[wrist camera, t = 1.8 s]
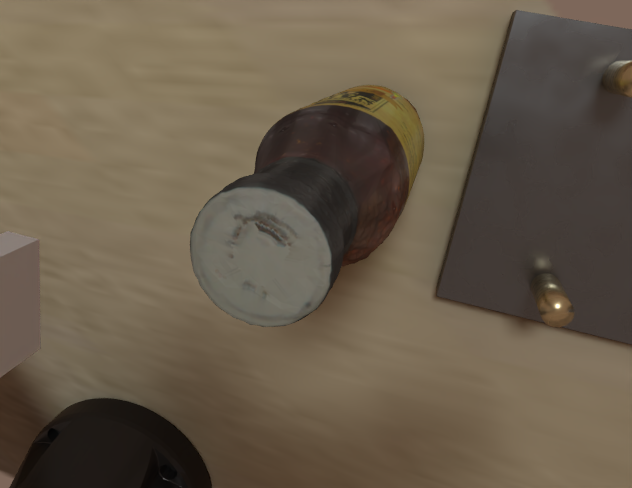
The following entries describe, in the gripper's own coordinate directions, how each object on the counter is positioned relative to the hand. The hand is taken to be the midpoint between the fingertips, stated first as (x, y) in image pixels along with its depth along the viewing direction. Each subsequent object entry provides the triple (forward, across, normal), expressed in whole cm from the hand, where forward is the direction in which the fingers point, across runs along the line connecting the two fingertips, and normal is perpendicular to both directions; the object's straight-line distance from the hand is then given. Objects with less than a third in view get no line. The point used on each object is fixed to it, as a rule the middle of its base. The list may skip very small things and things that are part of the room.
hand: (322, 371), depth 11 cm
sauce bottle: (+23, -2, +1) cm, 23 cm away
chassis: (+23, +15, +1) cm, 27 cm away
